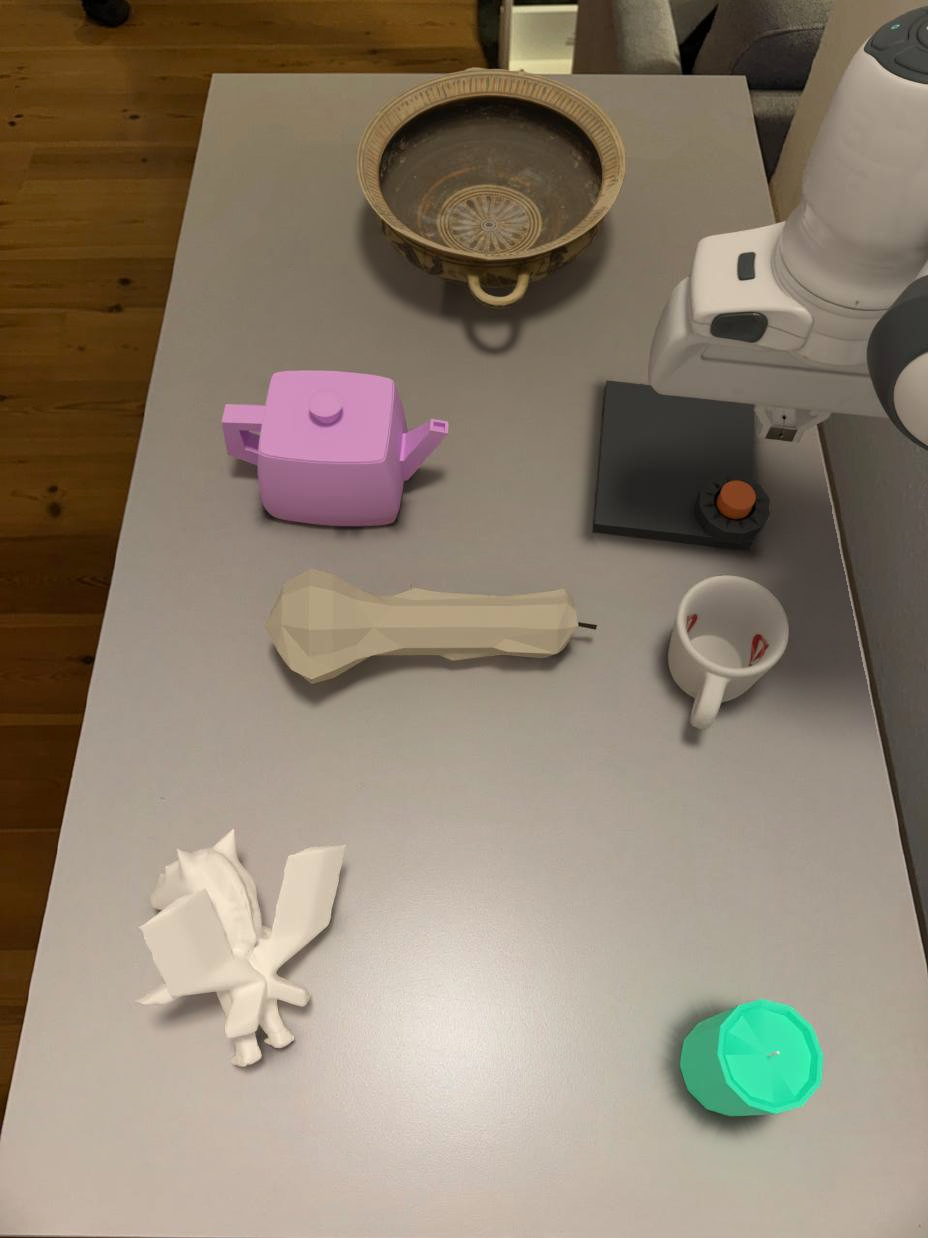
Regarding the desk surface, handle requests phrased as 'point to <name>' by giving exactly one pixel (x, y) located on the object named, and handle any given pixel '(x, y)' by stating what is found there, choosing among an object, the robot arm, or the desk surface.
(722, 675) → the cup
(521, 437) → the desk surface
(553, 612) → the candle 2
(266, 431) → the teapot
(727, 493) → the button
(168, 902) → the figurine
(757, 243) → the robot arm
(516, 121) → the ceramic bowl
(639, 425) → the scale
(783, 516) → the desk surface
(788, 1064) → the candle
